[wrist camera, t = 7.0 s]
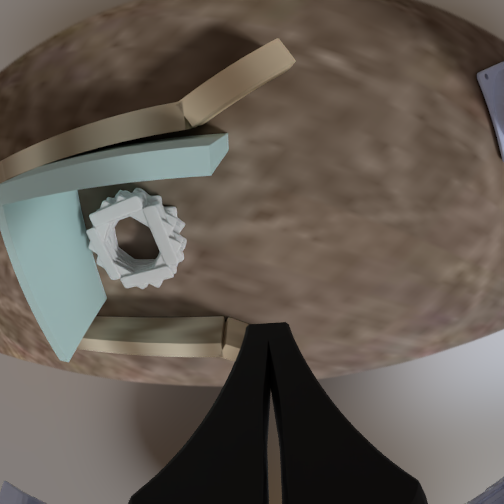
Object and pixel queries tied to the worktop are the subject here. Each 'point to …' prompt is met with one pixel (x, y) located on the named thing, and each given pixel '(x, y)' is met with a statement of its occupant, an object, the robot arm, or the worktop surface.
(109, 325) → the pocket
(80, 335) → the l-shaped corner panel
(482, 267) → the worktop surface
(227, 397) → the robot arm
